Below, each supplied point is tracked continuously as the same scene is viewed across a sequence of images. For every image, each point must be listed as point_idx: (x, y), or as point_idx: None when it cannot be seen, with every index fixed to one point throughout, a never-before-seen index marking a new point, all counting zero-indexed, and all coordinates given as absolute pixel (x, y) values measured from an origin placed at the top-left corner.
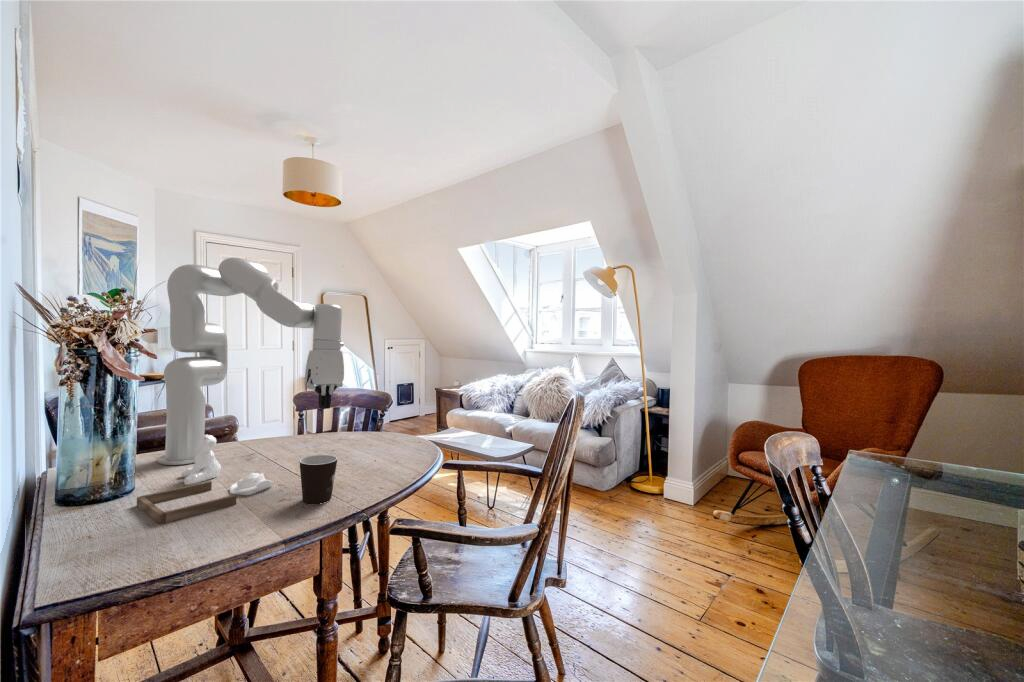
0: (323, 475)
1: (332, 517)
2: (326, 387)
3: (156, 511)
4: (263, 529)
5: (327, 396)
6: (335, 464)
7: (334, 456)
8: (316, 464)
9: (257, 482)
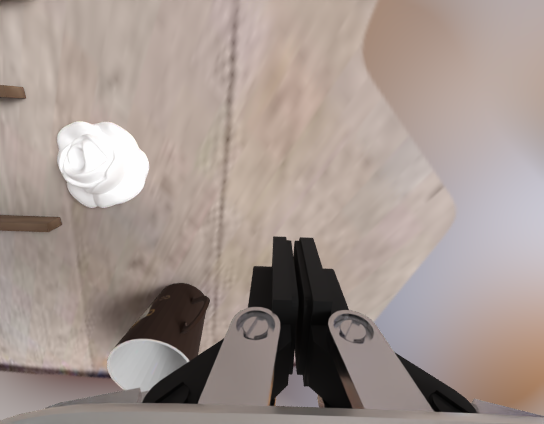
0: (157, 371)
1: None
2: (356, 400)
3: None
4: (79, 335)
5: (296, 366)
6: None
7: None
8: None
9: (98, 194)
